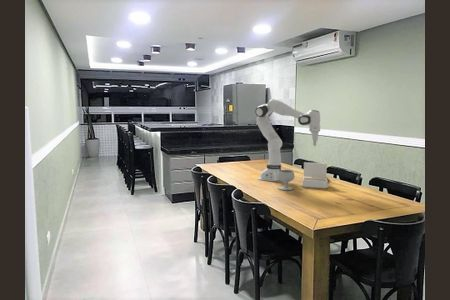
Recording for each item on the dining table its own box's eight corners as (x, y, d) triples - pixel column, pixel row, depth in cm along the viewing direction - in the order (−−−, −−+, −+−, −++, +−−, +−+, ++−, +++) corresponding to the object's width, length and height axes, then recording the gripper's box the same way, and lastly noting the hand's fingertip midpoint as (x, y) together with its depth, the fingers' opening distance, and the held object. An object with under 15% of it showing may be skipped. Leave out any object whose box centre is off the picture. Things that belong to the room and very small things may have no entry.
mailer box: (302, 187, 276) (302, 180, 275) (302, 183, 289) (302, 177, 289) (327, 188, 271) (327, 181, 271) (326, 185, 285) (326, 178, 284)
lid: (303, 162, 283) (303, 162, 283) (303, 176, 288) (303, 176, 289) (326, 163, 278) (326, 163, 279) (326, 177, 283) (326, 177, 284)
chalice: (297, 189, 267) (298, 171, 265) (284, 191, 260) (284, 173, 258) (286, 186, 279) (287, 169, 277) (273, 188, 272) (273, 170, 271)
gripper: (310, 128, 288) (310, 144, 290) (311, 129, 268) (311, 146, 270) (318, 128, 287) (317, 144, 288) (319, 129, 267) (319, 146, 268)
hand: (314, 145), depth 279 cm, fingers open, 8 cm apart
